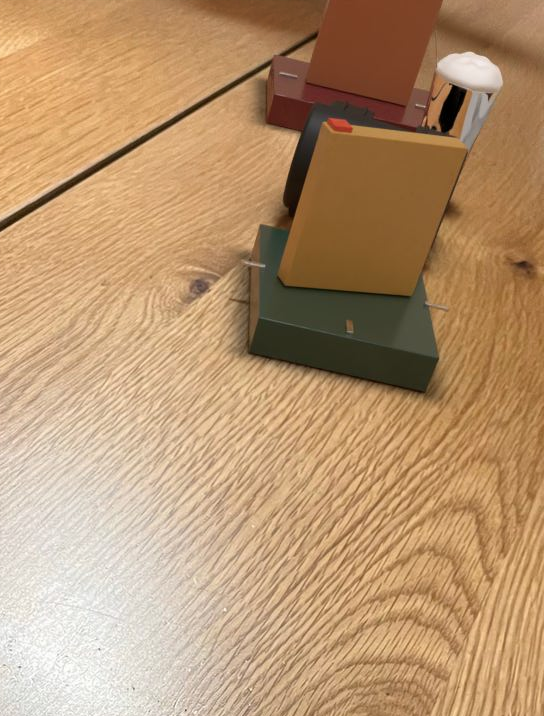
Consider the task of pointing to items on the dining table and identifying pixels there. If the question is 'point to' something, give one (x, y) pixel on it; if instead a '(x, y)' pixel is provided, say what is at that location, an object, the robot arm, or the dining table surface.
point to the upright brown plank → (373, 46)
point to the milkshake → (462, 96)
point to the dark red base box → (328, 98)
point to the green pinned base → (339, 323)
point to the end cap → (309, 140)
